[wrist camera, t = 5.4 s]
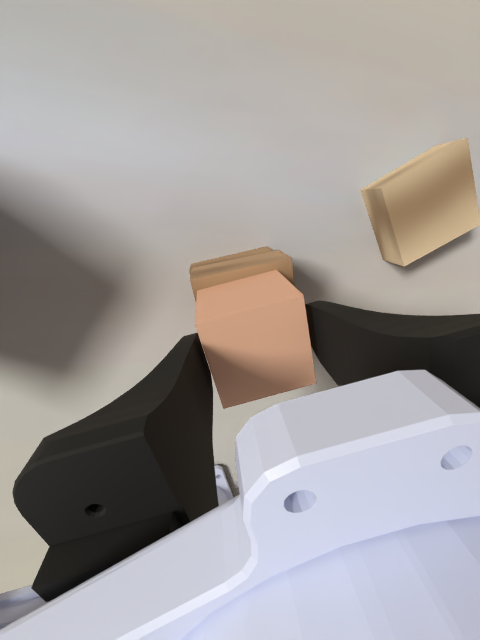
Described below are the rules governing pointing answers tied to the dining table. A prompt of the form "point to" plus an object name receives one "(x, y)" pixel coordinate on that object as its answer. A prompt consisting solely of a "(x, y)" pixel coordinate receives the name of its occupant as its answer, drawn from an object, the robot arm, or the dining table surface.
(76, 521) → the robot arm
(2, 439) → the dining table surface
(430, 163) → the slab
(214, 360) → the terracotta cube
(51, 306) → the dining table surface
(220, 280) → the tower top
